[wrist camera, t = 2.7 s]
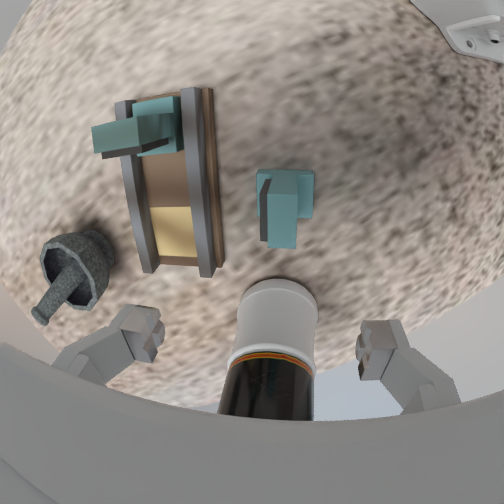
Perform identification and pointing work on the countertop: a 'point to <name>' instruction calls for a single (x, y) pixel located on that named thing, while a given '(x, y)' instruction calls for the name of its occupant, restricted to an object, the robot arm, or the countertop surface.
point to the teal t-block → (283, 204)
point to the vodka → (272, 354)
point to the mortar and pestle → (74, 272)
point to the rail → (169, 177)
